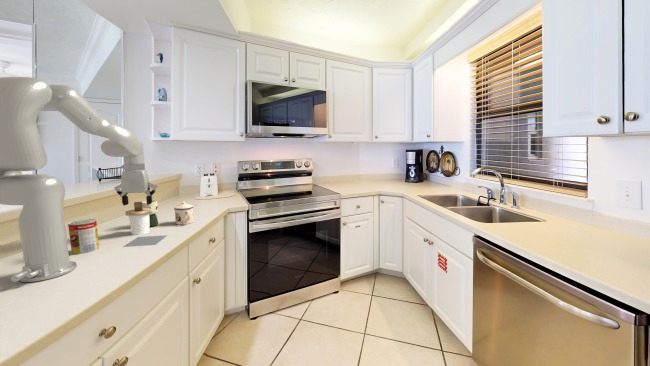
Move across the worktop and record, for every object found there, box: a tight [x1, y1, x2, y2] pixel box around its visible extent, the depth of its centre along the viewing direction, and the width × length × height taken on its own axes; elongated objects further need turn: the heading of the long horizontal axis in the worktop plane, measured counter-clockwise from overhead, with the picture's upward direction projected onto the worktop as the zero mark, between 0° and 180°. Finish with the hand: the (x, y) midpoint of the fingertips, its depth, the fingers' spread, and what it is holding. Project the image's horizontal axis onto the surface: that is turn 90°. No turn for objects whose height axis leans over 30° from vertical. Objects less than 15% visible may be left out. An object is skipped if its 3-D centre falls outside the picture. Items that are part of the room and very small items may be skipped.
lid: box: [124, 201, 152, 217], centre depth 118 cm, size 10×10×5 cm
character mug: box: [141, 199, 159, 227], centre depth 131 cm, size 11×7×13 cm, turn 43°
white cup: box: [128, 214, 151, 236], centre depth 119 cm, size 8×8×10 cm
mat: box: [122, 234, 168, 248], centre depth 109 cm, size 12×12×1 cm
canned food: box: [67, 218, 100, 255], centre depth 98 cm, size 8×8×12 cm
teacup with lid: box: [173, 201, 195, 226], centre depth 137 cm, size 12×9×12 cm
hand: (137, 204), depth 118 cm, fingers open, 9 cm apart
